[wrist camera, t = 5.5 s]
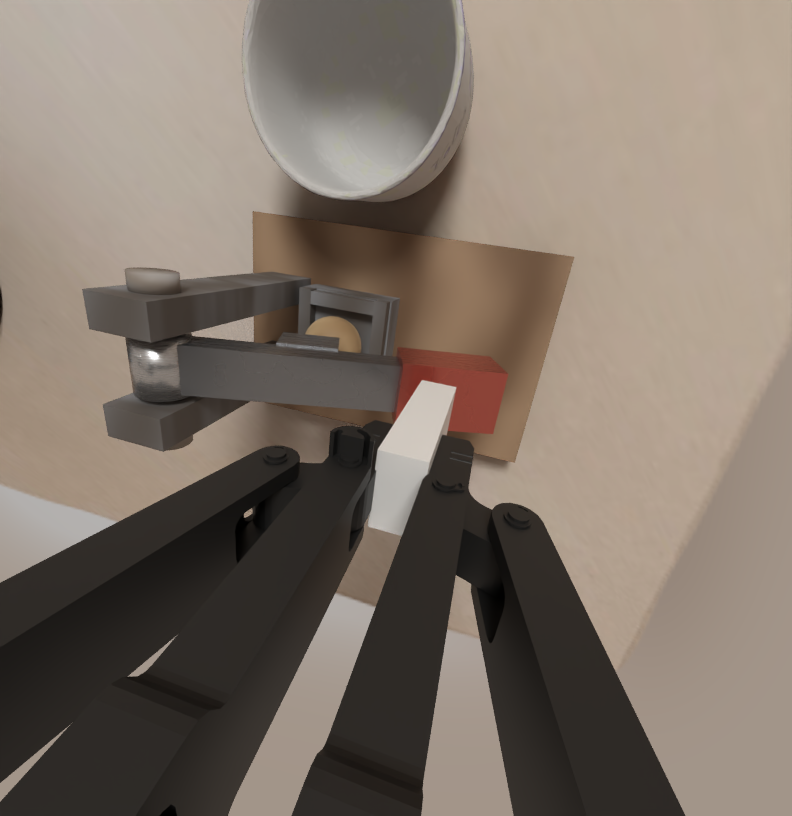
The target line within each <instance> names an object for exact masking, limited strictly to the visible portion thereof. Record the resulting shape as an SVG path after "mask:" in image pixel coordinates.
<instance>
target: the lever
mask: <svg viewBox="0 0 792 816" xmlns="http://www.w3.org/2000/svg"><path fill="white" fill-rule="evenodd" d="M125 338H126V345H127V352H128V359H129V366H130V373H131V380H132V387H133V394H134V396H135V397H137V398H138V399H141V400H145V401H151V402H169V401H176V400H181V399H184V398H187V397H189V396H196V397H208V398H221V399H233V400H246V401H258V402H271V403H283V404H296V405H308V406H321V407H333V408H346V409H358V410H371V411H383V412H392V417H393V422H394V423H395V422H396V420H397V418H398V417H399V415H400V414H401V412H402V411H403V409H404V407H405V406H406V404H407V403H408V401H409V400H410V398H411V396H412V395H413V393H414V392H415V390H416V389H417V387H418V385H419V384H420V382H421V381H422V380H424V381H429V382H434V383H439V384H444V385H448V386H453V387H456V392H455V397H454V402H453V407H452V412H451V417H450V421H449V426H448V431H457V432H470V433H484V434H493V432H494V428H495V425H496V421H497V417H498V413H499V409H500V405H501V401H502V397H503V393H504V389H505V385H506V382H507V378H508V373H507V372H506V371H505V370H504V369H503V368H502V367H501V366H500V365H499V364H497V363H496V362H495V361H494V360H493V359H492V358H491V357H490V356H481V355H471V354H461V353H451V352H442V351H432V350H422V349H413V348H403V347H397V354H396V356H386V355H375V354H365V353H355V352H345V351H339V340H340V338H337V337H328V336H318V335H308V334H299V333H289V332H283V333H282V335H281V336H280V338H279V339H278V341H277V342H276V345H275V344H265V343H255V342H245V341H235V340H225V339H215V338H205V337H195V336H192V334H191V332H190V333H186V334H183V335H179V336H175V337H171V338H167V339H163V340H159V341H156V342H152V343H150V342H145V341H141V340H136V339H132V338H127V337H125Z"/></svg>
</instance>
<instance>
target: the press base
mask: <svg viewBox="0 0 792 816" xmlns="http://www.w3.org/2000/svg"><path fill="white" fill-rule="evenodd" d="M573 260H574V257H571V256H564V255H557V254H550V253H542V252H535V251H528V250H521V249H514V248H507V247H500V246H493V245H486V244H479V243H472V242H465V241H458V240H451V239H444V238H437V237H430V236H423V235H416V234H409V233H402V232H395V231H388V230H381V229H374V228H367V227H360V226H353V225H346V224H338V223H331V222H324V221H317V220H310V219H303V218H296V217H289V216H282V215H275V214H268V213H261V212H254V211H253V273H251V274H240V275H229V276H218V277H207V278H197V279H186V280H180V275H179V272H176V271H172V270H166V269H157V268H126V269H125V277H126V284H127V285H121V286H110V287H99V288H88V289H82V290H83V296H84V301H85V307H86V313H87V318H88V324H89V329H92V330H96V331H101V332H105V333H109V334H114V335H118V336H123V337H127V338H132V339H136V340H141V341H145V342H150V343H152V342H156V341H159V340H163V339H167V338H171V337H175V336H179V335H183V334H186V333H190V332H194V331H198V330H202V329H206V328H210V327H214V326H217V325H221V324H225V323H229V322H233V321H237V320H241V319H244V318H248V317H252V316H254V342H255V343H265V344H275V345H276V342H277V341H278V339H279V338H280V336H281V335H282V333H283V332H289V333H299V334H305V333H306V331H307V329H308V328H309V327H310V325H311V324H312V323H313V322H315V321H316V320H318V319H320V318H323V317H327V316H336V317H340V318H343V319H345V320H347V321H348V322H350V323H351V324H352V325H353V326H354V327H355V328H356V330H357V331H358V333H359V336H360V339H361V353H365V354H375V355H386V356H396V354H397V347H403V348H413V349H422V350H432V351H442V352H451V353H461V354H471V355H481V356H490V357H491V358H492V359H493V360H494V361H495V362H496V363H497V364H499V365H500V366H501V367H502V368H503V369H504V370H505V371H506V372H507V373H508V378H507V382H506V385H505V389H504V393H503V397H502V401H501V405H500V409H499V413H498V417H497V421H496V425H495V428H494V432H493V434H484V433H470V432H457V431H447V436H451V437H455V438H460V439H464V440H468V441H470V442H471V444H472V446H473V447H474V453H476V454H480V455H485V456H489V457H493V458H497V459H501V460H505V461H509V462H514V463H515V460H516V456H517V453H518V449H519V446H520V442H521V439H522V436H523V432H524V429H525V425H526V422H527V418H528V415H529V411H530V408H531V404H532V401H533V398H534V394H535V391H536V387H537V384H538V380H539V377H540V373H541V370H542V367H543V363H544V360H545V356H546V353H547V349H548V346H549V342H550V339H551V335H552V332H553V329H554V325H555V322H556V318H557V315H558V311H559V308H560V304H561V301H562V298H563V294H564V291H565V287H566V284H567V280H568V277H569V273H570V270H571V266H572V263H573ZM248 402H250V401H246V400H233V399H221V398H208V397H196V396H189V397H187V398H184V399H181V400H176V401H169V402H151V401H145V400H141V399H138V398H137V397H135V396H134V394H133V393H131V394H129V395H126V396H124V397H121V398H118V399H116V400H113V401H110V402H108V403H105V404H103V409H104V414H105V420H106V426H107V431H108V436H110V437H113V438H117V439H120V440H124V441H128V442H131V443H135V444H138V445H142V446H145V447H149V448H152V449H156V450H159V451H163V452H164V451H166V450H175V449H179V448H182V447H185V446H187V445H188V444H190V443H191V442H192V440H193V434H195V433H196V432H198V431H200V430H202V429H203V428H205V427H207V426H208V425H210V424H212V423H214V422H215V421H217V420H219V419H221V418H222V417H224V416H226V415H227V414H229V413H231V412H233V411H234V410H236V409H238V408H239V407H241V406H243V405H245V404H246V403H248ZM265 403H269V404H274V405H278V406H282V407H286V408H290V409H294V410H298V411H303V412H307V413H311V414H315V415H319V416H323V417H327V418H331V419H336V420H340V421H344V422H348V423H352V424H356V425H360V426H365V425H366V424H368V423H370V422H372V421H374V420H377V421H382V422H386V423H390V424H394V422H393V417H392V412H383V411H371V410H358V409H346V408H333V407H321V406H308V405H296V404H283V403H271V402H265Z"/></svg>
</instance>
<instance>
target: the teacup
mask: <svg viewBox="0 0 792 816" xmlns="http://www.w3.org/2000/svg"><path fill="white" fill-rule="evenodd" d="M242 68H243V78H244V88H245V95H246V99H247V103H248V107H249V111H250V114H251V117H252V120H253V123H254V125H255V128H256V130H257V133H258V135H259V137H260V139H261V141H262V142H263V144H264V146H265V148H266V149H267V151H268V153H269V154H270V155H271V157H272V158H273V160H274V161H275V162H276V163H277V164H278V165H279V167H280V168H281V169H282V170H283V171H284V173H286V174H287V175H288V176H289V177H290V178H291V179H292V180H294V181H295V182H296V183H298V184H299V185H301V186H302V187H303V188H305V189H307V190H309V191H311V192H312V193H315V194H317V195H321V196H324V197H327V198H332V199H336V200H358V201H366V202H387V201H394V200H398V199H401V198H404V197H407V196H409V195H412V194H414V193H415V192H417V191H419V190H421V189H422V188H424V187H425V186H427V185H428V184H429V183H430V182H432V181H433V180H434V179H435V178H436V177H437V176H438V175H439V174H440V173H441V172H442V171H443V169H444V168H445V167H446V166H447V164H448V163H449V161H450V160H451V159H452V157H453V156H454V154H455V152H456V150H457V148H458V146H459V144H460V142H461V140H462V138H463V135H464V133H465V130H466V127H467V124H468V120H469V116H470V111H471V106H472V99H473V88H474V71H473V58H472V51H471V45H470V40H469V35H468V31H467V27H466V23H465V18H464V11H463V5H462V0H250V1H249V5H248V8H247V12H246V18H245V23H244V32H243V41H242Z"/></svg>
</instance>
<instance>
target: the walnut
mask: <svg viewBox="0 0 792 816" xmlns="http://www.w3.org/2000/svg"><path fill="white" fill-rule="evenodd" d="M305 334H308V335H318V336H328V337H337V338H340V340H339V351H345V352H355V353H361V339H360V336H359V333H358V331H357V330H356V328H355V327H354V326H353V325H352V324H351V323H350V322H348V321H347V320H345V319H343V318H340V317H336V316H327V317H323V318H320V319H318V320H316V321H315V322H313V323H312V324H311V325H310V327H309V328H308V329H307V331H306V333H305Z"/></svg>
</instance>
